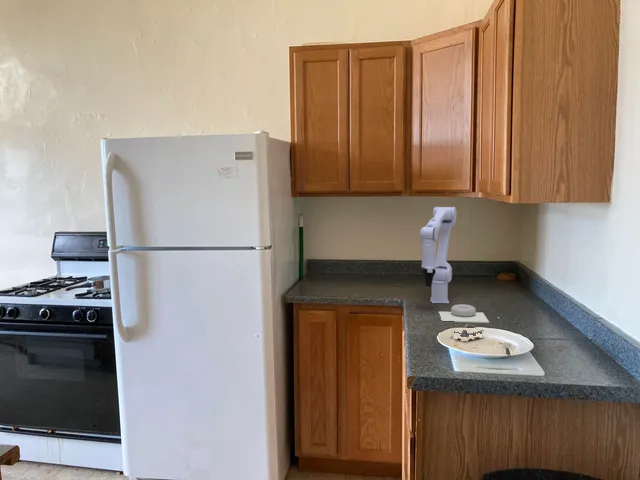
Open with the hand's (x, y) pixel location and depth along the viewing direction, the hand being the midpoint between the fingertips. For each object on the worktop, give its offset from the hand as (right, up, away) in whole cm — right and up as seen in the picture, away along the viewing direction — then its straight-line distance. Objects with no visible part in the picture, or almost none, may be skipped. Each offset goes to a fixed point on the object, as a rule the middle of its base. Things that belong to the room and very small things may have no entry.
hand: (428, 286), depth 209 cm
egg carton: (+6, -15, -37) cm, 40 cm away
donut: (+13, -9, -3) cm, 16 cm away
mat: (+11, -12, -11) cm, 20 cm away
